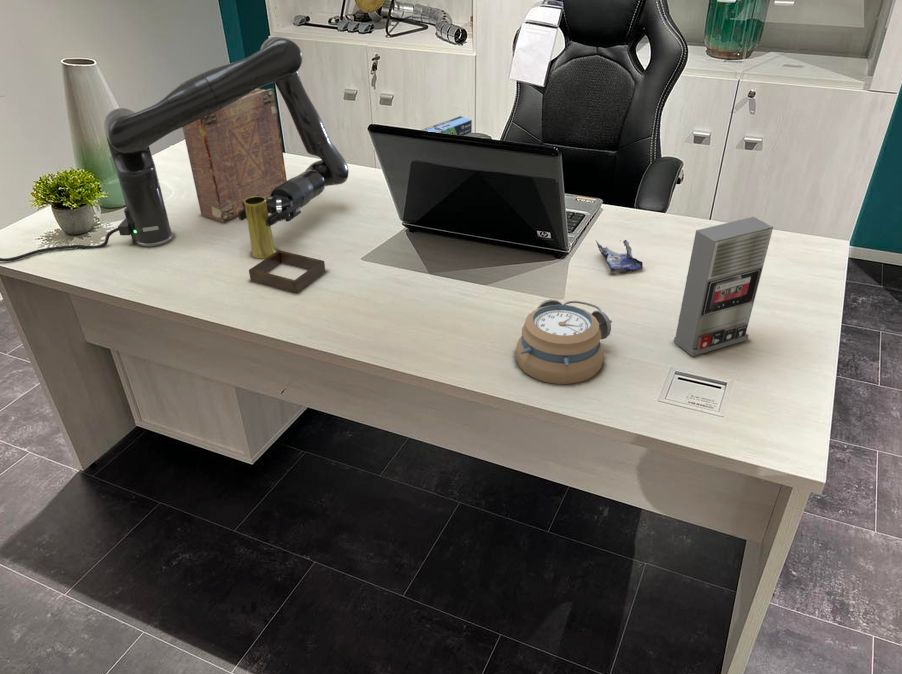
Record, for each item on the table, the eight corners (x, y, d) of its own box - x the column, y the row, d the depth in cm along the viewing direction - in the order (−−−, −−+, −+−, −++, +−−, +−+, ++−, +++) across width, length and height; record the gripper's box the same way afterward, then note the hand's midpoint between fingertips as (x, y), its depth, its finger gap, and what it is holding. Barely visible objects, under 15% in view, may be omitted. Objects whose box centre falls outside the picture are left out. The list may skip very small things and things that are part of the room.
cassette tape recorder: (692, 358, 151) (717, 243, 137) (673, 342, 156) (694, 230, 141) (747, 341, 156) (777, 228, 141) (727, 327, 160) (753, 216, 146)
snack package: (641, 254, 188) (593, 249, 190) (646, 232, 184) (596, 228, 185) (640, 284, 180) (590, 279, 182) (645, 262, 175) (594, 257, 177)
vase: (280, 250, 194) (272, 197, 186) (266, 260, 190) (257, 206, 181) (261, 245, 196) (251, 193, 188) (246, 256, 192) (236, 202, 184)
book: (266, 185, 229) (250, 82, 212) (288, 192, 225) (274, 87, 207) (200, 215, 213) (177, 106, 195) (223, 223, 208) (201, 112, 191)
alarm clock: (503, 330, 144) (549, 277, 160) (501, 370, 150) (546, 315, 166) (589, 353, 137) (628, 295, 153) (584, 394, 143) (623, 334, 159)
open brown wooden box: (250, 281, 181) (248, 270, 180) (280, 260, 190) (278, 249, 188) (297, 293, 176) (295, 282, 174) (325, 271, 184) (324, 260, 182)
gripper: (268, 176, 198) (227, 200, 186) (313, 185, 192) (273, 210, 181) (273, 204, 202) (233, 228, 191) (317, 212, 196) (278, 239, 185)
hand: (253, 219), depth 186 cm, fingers open, 8 cm apart
